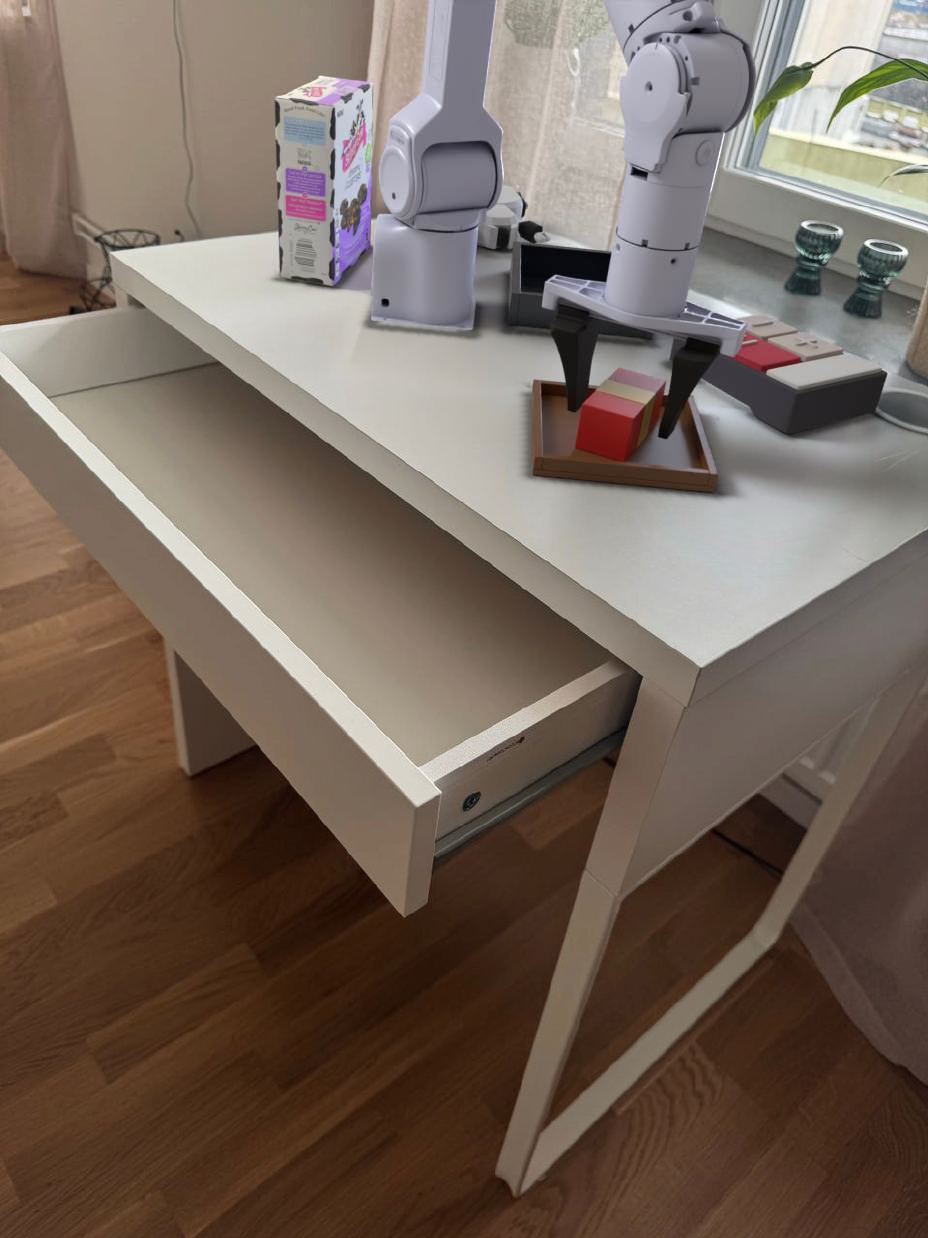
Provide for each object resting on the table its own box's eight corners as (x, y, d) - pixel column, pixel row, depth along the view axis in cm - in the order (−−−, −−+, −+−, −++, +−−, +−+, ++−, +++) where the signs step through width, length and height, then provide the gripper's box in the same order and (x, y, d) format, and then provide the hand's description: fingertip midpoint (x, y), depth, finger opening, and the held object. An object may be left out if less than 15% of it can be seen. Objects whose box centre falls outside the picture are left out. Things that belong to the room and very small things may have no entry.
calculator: (762, 308, 90) (893, 363, 80) (751, 353, 93) (877, 412, 83) (673, 323, 85) (801, 384, 75) (665, 370, 88) (787, 435, 78)
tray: (532, 474, 70) (534, 456, 69) (531, 395, 80) (533, 378, 79) (713, 492, 70) (718, 474, 69) (689, 411, 80) (693, 394, 79)
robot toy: (553, 265, 109) (513, 215, 120) (560, 225, 106) (518, 177, 117) (448, 266, 106) (417, 214, 116) (452, 225, 103) (419, 175, 113)
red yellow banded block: (573, 448, 72) (581, 403, 70) (610, 409, 78) (618, 366, 76) (624, 463, 71) (634, 418, 69) (657, 422, 77) (667, 379, 75)
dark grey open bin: (507, 330, 91) (511, 292, 88) (509, 275, 103) (513, 240, 101) (650, 345, 91) (658, 307, 89) (636, 288, 103) (642, 254, 101)
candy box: (334, 288, 96) (334, 103, 85) (277, 279, 96) (270, 95, 86) (372, 247, 106) (376, 79, 96) (321, 239, 107) (319, 71, 97)
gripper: (775, 246, 66) (725, 426, 74) (579, 202, 70) (553, 377, 79) (751, 273, 61) (700, 463, 69) (541, 224, 65) (518, 408, 74)
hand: (620, 419), depth 74 cm, fingers open, 7 cm apart
